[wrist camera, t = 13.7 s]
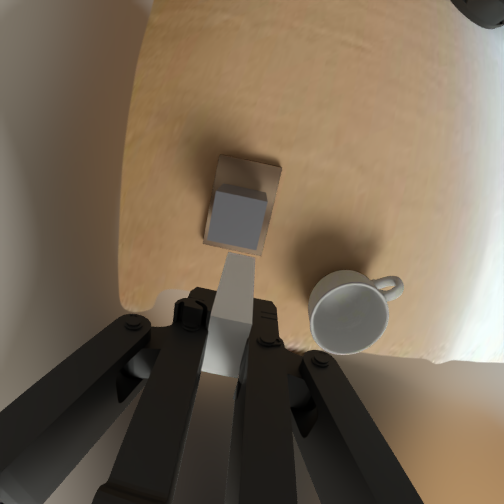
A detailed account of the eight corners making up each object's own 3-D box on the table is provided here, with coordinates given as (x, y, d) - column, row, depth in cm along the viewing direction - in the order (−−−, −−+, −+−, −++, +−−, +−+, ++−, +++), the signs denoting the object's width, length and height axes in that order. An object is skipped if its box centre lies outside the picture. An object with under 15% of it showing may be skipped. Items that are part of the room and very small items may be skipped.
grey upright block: (223, 183, 37) (215, 190, 31) (266, 192, 37) (267, 201, 31) (215, 224, 39) (206, 240, 33) (256, 233, 39) (256, 250, 33)
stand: (220, 154, 38) (211, 156, 30) (281, 167, 38) (287, 172, 31) (204, 241, 42) (192, 263, 34) (261, 253, 42) (261, 277, 35)
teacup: (314, 333, 47) (323, 365, 39) (292, 276, 44) (299, 303, 36) (394, 302, 45) (414, 329, 37) (381, 242, 42) (404, 262, 34)
